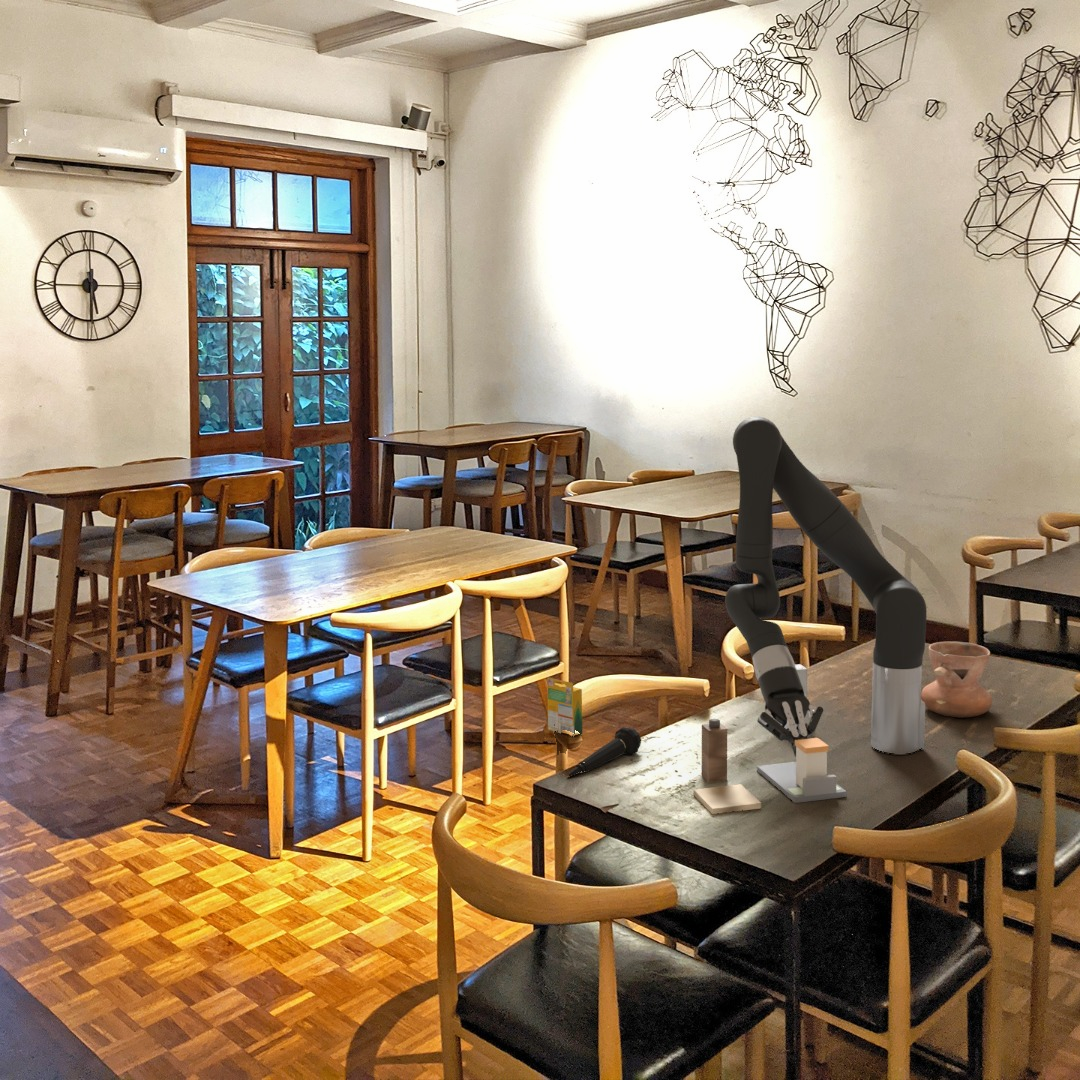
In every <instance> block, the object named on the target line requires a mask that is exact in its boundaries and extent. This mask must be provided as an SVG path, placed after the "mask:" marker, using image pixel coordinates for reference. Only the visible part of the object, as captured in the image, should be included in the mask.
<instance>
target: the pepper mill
mask: <svg viewBox="0 0 1080 1080" xmlns="http://www.w3.org/2000/svg"><path fill="white" fill-rule="evenodd" d="M701 777H702V778H703V779H704V780H705V781H706V782H707V783H717V782H724V781H725V782H727V781H728V728H727V727H726V726H725V725H723V724H722V723H721V719H719V718H710V719H709V720H708V723H704V724H701Z"/></svg>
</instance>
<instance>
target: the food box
mask: <svg viewBox="0 0 1080 1080" xmlns="http://www.w3.org/2000/svg"><path fill="white" fill-rule="evenodd" d="M546 681H547V682H546V684H547V685H546V687H547V691H546V692H547V694H546V695H547V730H548V731H550V732H554V733H558V734H561V731H562V730H567V731H570V732H572V733H574V734H575V730H576V731H578V732H579V733H580V735H582V734H583V689H582V688H579V687H575V686H574V683H573V682H570V681H566V680H561V679H556V678H553V677H548V676H547V677H546ZM554 724H555V726H554ZM554 727H555V729H554ZM557 730H558V732H557ZM555 731H556V732H555ZM574 734H573V737H572V738H575V737H574Z"/></svg>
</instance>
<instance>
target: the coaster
mask: <svg viewBox="0 0 1080 1080" xmlns="http://www.w3.org/2000/svg"><path fill="white" fill-rule="evenodd" d="M693 796H695V798H696V799H697V800H698V801H699V802H700V803H701V804H702V805H703V806H704V807H705V808H706V809H707V810H708V812H710V814H712V815H717V813H719V814H724V813H723V812H727V813H733V812H732V811H735V812H741V811H742V810H743V811H748V810H758V809H762V802H761V801H760V800H759V799H758V798H757V797H755V795H753V794H752V793H751V792H750V791H749V790H748V789H747V788H745V787H744V786H743V784H741V783H739V784H732V785H731V784H730V785H721V786H713V787H705V788H696V789H693Z"/></svg>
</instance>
